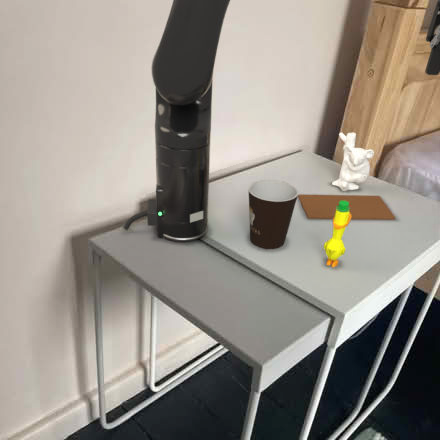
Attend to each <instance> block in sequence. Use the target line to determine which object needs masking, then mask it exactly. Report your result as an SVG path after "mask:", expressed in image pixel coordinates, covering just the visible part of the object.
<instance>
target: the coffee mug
mask: <svg viewBox="0 0 440 440" xmlns="http://www.w3.org/2000/svg"><path fill="white" fill-rule="evenodd" d="M298 195H299V190H298V189H297V188H296V187H295V186H294V185H292V184H291V183H288V182H286V181H281V180H275V179H263V180H257V181H254V182H252V183H251V184H249V186H248V212H249V213H248V217H249V241H250V243H251V244H252V245H253V246H255V247H257V248H260V249H263V250H277V249H280V248H281V247H284V245H285V243H286V239H287V236H288V232H289V228H290V226H291V225H290V224H291V221H292V217H293V214H294V210H295V206H296V203H297V199H298Z"/></svg>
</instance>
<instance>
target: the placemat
mask: <svg viewBox="0 0 440 440" xmlns="http://www.w3.org/2000/svg"><path fill="white" fill-rule="evenodd" d="M297 198H298V200H299V202H300V204H301V206H302V208H303V211H304V213H305V216H306V218H307V219H308V220H333V218H334V217H335V213H336V207H337V206H338V205H339V202H340V201H347V202H349V206H348V207H349V208H350V210H349V213H351V216H352V217H351V220H379V221H380V220H383V221H384V220H386V221H387V220H389V221H393V220H396V217H395V215H394V214H393V212H392V211H391V209H390V208H389V207H388V205H387V204H386V203H385V201H384V199H382V197H381V196H380V195H358V194H357V195H354V194H353V195H351V194H350V195H349V194H348V195H347V194H345V195H344V194H298V196H297Z"/></svg>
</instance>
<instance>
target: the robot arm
mask: <svg viewBox="0 0 440 440" xmlns="http://www.w3.org/2000/svg"><path fill="white" fill-rule="evenodd" d="M230 3H231V0H173V1H172V4H171V7H170V11H169V14H168V17H167V20H166V23H165V27H164V30H163V33H162V35H161V38H160V41H159V43H158V45H157V48H156V49H155V53H154V55H153V58H152V60H151V67H150V68H151V79H152V82H153V85H154V87H155V115H154V116H155V118H154V142H155V143H154V144H155V145H154V146H155V175H156V177H155V179H156V184H155V199H154V198H153V199H149V198H148V202H147V209H146V210H144V211H142V212H138V213H135V214H134V215H132V216H131V217H129V218H128V219H127V221H126V222H125V224H124V225H123V229H124V230H126V231H128V230H129V228H130V227H131V226H132V224H133V223H134V222H135V221H138V220H139V219H141V218H144V217H147V226H149V227H150V226H154V227H156V236H157V238H159V239H161V238H162V239H166V240H168V241H172V242H175V243H190V242H195V241H198V240H200V239H202V238H204V237H205V236H206V235H207V234H208V231H209V229H208V228H209V225H208V223H209V220H208V219H209V218H208V215H209V193H210V192H209V190H210V189H209V188H210V163H211V162H210V161H211V159H210V158H211V137H212V106H213V105H212V104H213V102H212V101H213V82H214V81H213V80H214V79H213V78H214V70H215V64H216V59H217V53H218V48H219V43H220V38H221V33H222V28H223V25H224V21H225V17H226V14H227V10H228V8H229V5H230ZM425 41H426V43H429V48H430V49H431V50H430V53H429V57H428V60H427V64H426V66H425V70H424V73H425V74H427V75H428V76H438V75H439V74H440V0H437V2H436V4H435V8H434V11H433V14H432V17H431V20H430V24H429V28H428V30H427V33H426V36H425Z"/></svg>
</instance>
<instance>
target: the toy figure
mask: <svg viewBox="0 0 440 440" xmlns="http://www.w3.org/2000/svg"><path fill="white" fill-rule="evenodd" d="M348 206H349V202H347V201H340V202H339V205H338V206H337V207H336V213H335V217H334V218H333V219H332V224H333V225H332V237H331V238H329V239H328V240H327V241H325V242H324V244H323V250H324V252H325V254H326V257H327V260H326V266H328V267H329V266H331V268H335V267H337V266H338V265H339V258H340V257H342V256H344V255H345V253H346V250H347V248H346V247H345V243H344V241H343V240H342V239H343V235H344V234H345V231H346V228H347V227H348V226H349V224H350V222H351V220H352V219H351V217H352V216H351V213H349V210H350V208H349V207H348Z"/></svg>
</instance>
